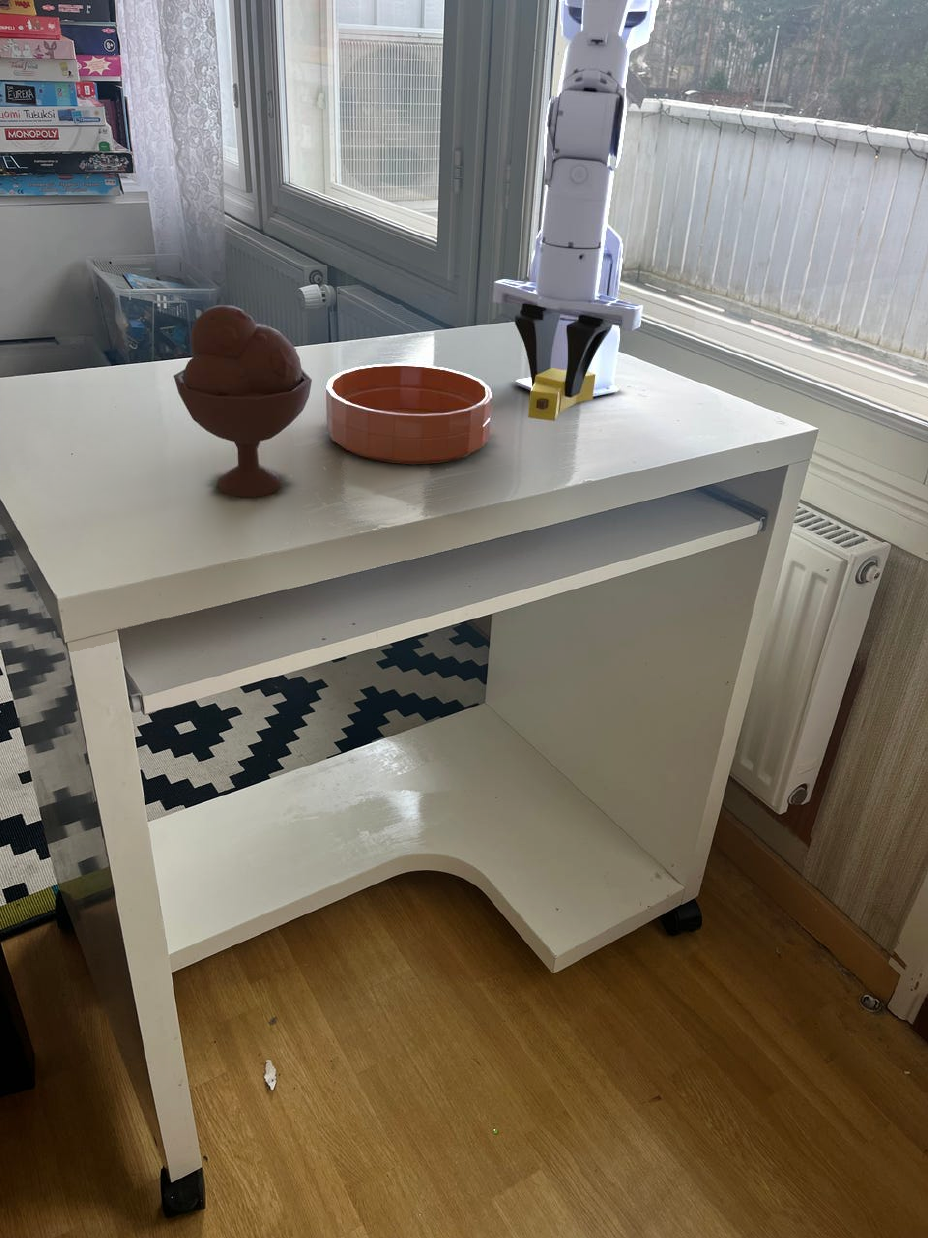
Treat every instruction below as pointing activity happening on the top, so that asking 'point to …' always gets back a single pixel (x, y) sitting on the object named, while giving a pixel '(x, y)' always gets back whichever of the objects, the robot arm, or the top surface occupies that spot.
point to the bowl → (408, 413)
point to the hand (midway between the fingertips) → (555, 390)
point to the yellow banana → (556, 394)
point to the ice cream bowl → (242, 390)
